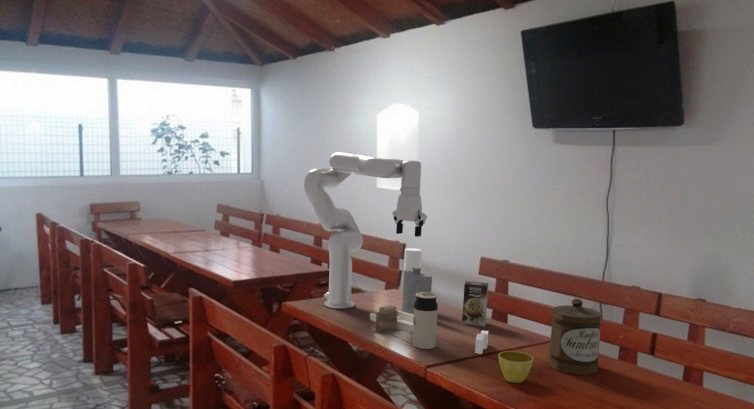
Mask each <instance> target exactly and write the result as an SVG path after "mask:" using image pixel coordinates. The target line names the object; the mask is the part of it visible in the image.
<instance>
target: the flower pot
mask: <svg viewBox="0 0 754 409" xmlns="http://www.w3.org/2000/svg"><path fill="white" fill-rule="evenodd" d="M498 360H499V361H498V362H499V367H500V370H501V372H502V375H503V377H504V379H505V381H507V382H509V383H513V384H521V383H523V382H524V380H526V378H527V377H528V375H529V373H530V372H531V369H532V367H533V366H532V365H533V364H534V357H533V356H532V355H530V354H528V353H525V352H521V351H512V350H506V351H501V352H499V353H498Z"/></svg>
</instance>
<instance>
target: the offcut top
mask: <svg viewBox="0 0 754 409" xmlns="http://www.w3.org/2000/svg"><path fill="white" fill-rule="evenodd" d="M378 307H379V308H378V312H381V311H385V310H390V309H392V310H397V306H396V305H393V304H387V305H386V304H385V305H383V306H378Z"/></svg>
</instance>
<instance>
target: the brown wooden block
mask: <svg viewBox="0 0 754 409" xmlns="http://www.w3.org/2000/svg"><path fill="white" fill-rule="evenodd" d="M396 310H397V309H396ZM396 310H392V309H390V310H385V311H381V312H379V311H378V312H376V313H375V314H376V322H375V330H376V332H379V333H385V332H388V331H392V330H396V328H397V311H396Z"/></svg>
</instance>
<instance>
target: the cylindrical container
mask: <svg viewBox="0 0 754 409" xmlns="http://www.w3.org/2000/svg"><path fill="white" fill-rule="evenodd" d="M422 253H423V249H421V248H414V247H409V248H404V260H403V261H404V263H403V266H404V267H403V271H404V270H412V267H420V268H421V270H420V273H421V274H422V256H423V255H422ZM412 271H413V270H412Z"/></svg>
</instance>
